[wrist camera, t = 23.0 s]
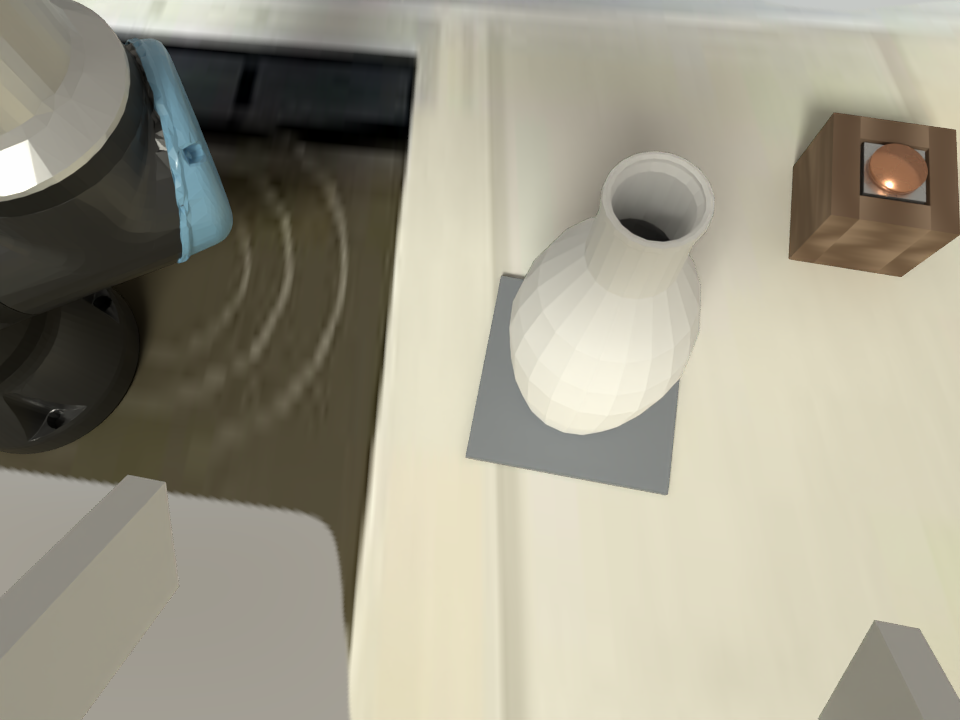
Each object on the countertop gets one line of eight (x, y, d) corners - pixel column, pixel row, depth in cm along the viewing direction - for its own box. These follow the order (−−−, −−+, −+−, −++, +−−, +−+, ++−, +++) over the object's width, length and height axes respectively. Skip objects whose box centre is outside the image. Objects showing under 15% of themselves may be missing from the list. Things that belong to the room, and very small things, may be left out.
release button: (829, 226, 52) (868, 187, 47) (831, 180, 53) (868, 137, 48) (886, 235, 52) (931, 197, 47) (886, 188, 53) (930, 145, 48)
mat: (465, 457, 49) (465, 456, 48) (501, 278, 53) (501, 275, 53) (665, 495, 48) (667, 494, 47) (684, 309, 52) (686, 306, 52)
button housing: (788, 259, 54) (830, 214, 47) (793, 166, 56) (833, 112, 50) (900, 276, 53) (960, 234, 46) (900, 182, 56) (956, 129, 49)
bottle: (677, 360, 50) (848, 166, 26) (601, 479, 48) (714, 385, 23) (556, 285, 52) (612, 42, 28) (476, 395, 50) (463, 229, 26)
